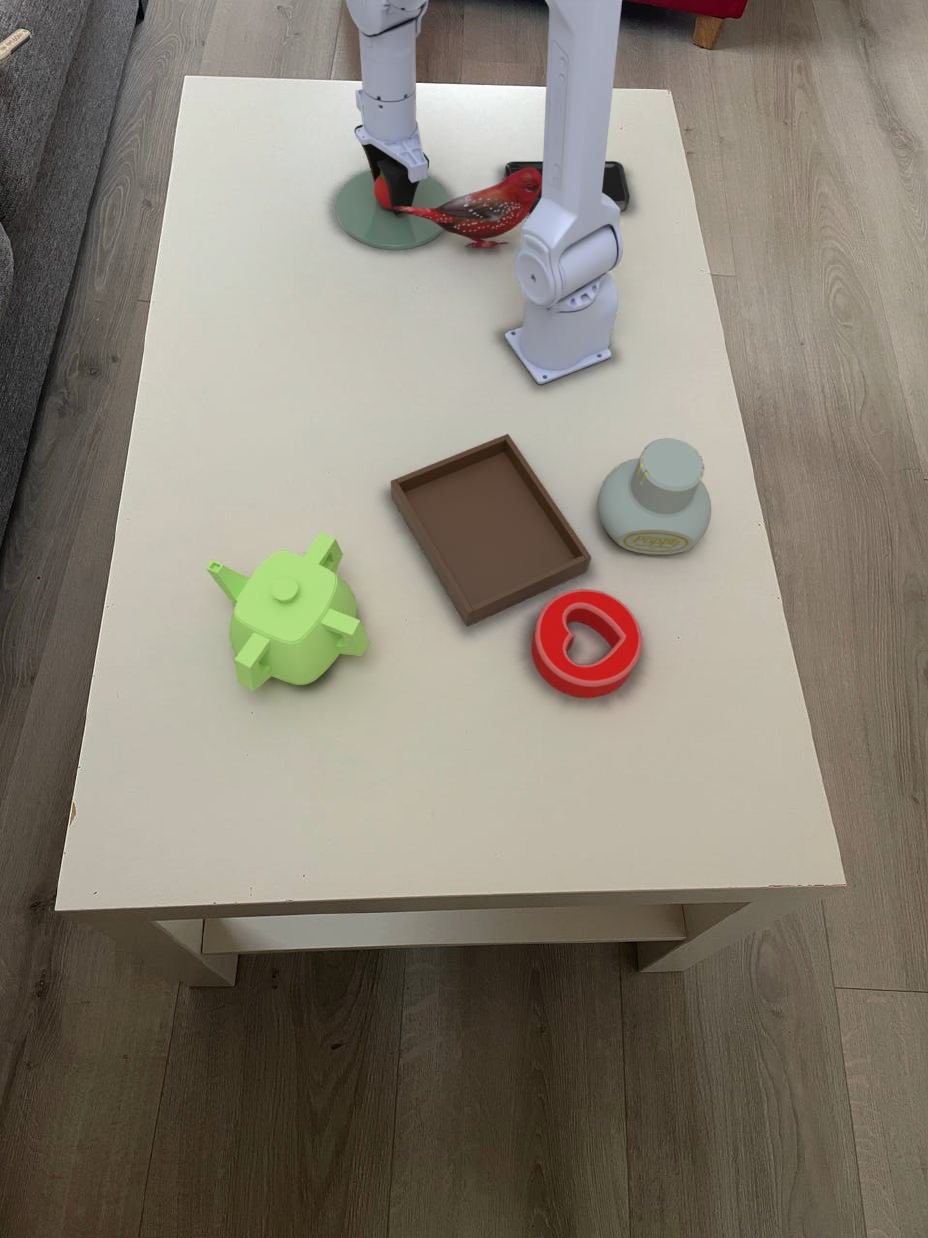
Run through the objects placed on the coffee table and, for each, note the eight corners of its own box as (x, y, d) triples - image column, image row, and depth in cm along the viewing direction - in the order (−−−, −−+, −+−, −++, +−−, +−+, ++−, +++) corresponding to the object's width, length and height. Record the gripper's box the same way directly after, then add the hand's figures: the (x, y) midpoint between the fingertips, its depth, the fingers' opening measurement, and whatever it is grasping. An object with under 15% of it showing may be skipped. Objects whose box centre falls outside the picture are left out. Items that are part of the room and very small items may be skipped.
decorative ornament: (652, 678, 78) (661, 664, 75) (556, 711, 76) (561, 699, 73) (608, 590, 82) (614, 574, 79) (515, 620, 80) (519, 605, 77)
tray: (505, 450, 89) (508, 433, 86) (586, 571, 83) (591, 557, 80) (391, 497, 86) (390, 480, 83) (466, 626, 79) (468, 613, 77)
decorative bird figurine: (543, 252, 102) (555, 176, 93) (395, 261, 100) (392, 185, 91) (539, 235, 103) (550, 158, 94) (393, 244, 101) (390, 167, 92)
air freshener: (698, 492, 87) (729, 430, 78) (703, 562, 84) (737, 505, 75) (592, 484, 87) (611, 421, 78) (592, 554, 84) (613, 495, 75)
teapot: (343, 568, 82) (333, 511, 73) (379, 673, 77) (373, 625, 68) (221, 604, 80) (196, 549, 71) (251, 713, 75) (228, 669, 66)
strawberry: (400, 190, 105) (399, 155, 101) (415, 211, 103) (414, 176, 99) (369, 199, 104) (366, 165, 100) (384, 221, 102) (382, 186, 98)
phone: (504, 161, 107) (622, 160, 108) (503, 169, 108) (620, 168, 109) (509, 203, 104) (631, 202, 105) (509, 211, 105) (629, 210, 106)
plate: (419, 159, 109) (419, 154, 108) (471, 228, 103) (471, 224, 103) (317, 190, 105) (317, 185, 105) (365, 263, 100) (365, 259, 99)
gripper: (326, 56, 92) (338, 171, 105) (384, 135, 87) (389, 246, 99) (385, 41, 94) (390, 155, 106) (446, 117, 89) (443, 228, 101)
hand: (393, 198), depth 103 cm, fingers closed on strawberry, 4 cm apart
